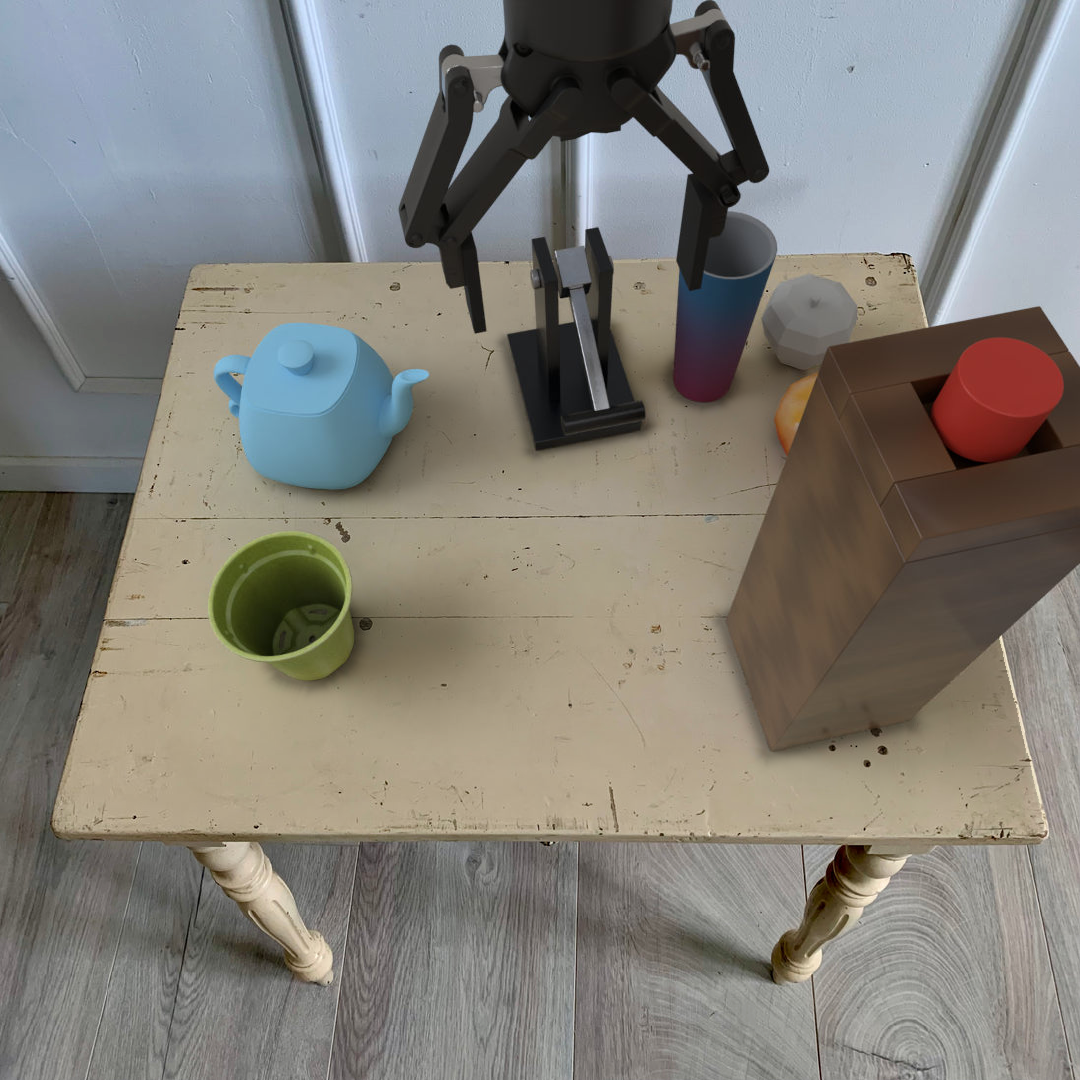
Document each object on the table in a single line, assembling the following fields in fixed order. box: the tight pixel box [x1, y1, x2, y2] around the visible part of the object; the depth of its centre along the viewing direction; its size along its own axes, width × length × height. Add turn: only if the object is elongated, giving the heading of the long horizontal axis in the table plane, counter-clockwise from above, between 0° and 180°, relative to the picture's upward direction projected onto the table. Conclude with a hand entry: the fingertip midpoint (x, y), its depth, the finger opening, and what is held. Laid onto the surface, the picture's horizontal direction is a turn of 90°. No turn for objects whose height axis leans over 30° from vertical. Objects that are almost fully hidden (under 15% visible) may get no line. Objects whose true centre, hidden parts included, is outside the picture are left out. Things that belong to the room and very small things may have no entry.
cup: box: [672, 210, 778, 403], centre depth 70 cm, size 7×7×15 cm
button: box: [931, 338, 1064, 463], centre depth 36 cm, size 4×4×3 cm
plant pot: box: [207, 530, 355, 681], centre depth 62 cm, size 9×9×9 cm
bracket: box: [506, 226, 643, 451], centre depth 70 cm, size 12×9×15 cm
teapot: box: [213, 322, 430, 491], centre depth 70 cm, size 13×11×18 cm
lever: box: [552, 245, 647, 435], centre depth 65 cm, size 13×6×2 cm, turn 12°
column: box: [725, 305, 1080, 752], centre depth 50 cm, size 10×10×30 cm
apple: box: [760, 273, 858, 371], centre depth 74 cm, size 8×8×7 cm
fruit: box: [773, 372, 818, 457], centre depth 70 cm, size 8×8×8 cm
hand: (583, 296), depth 55 cm, fingers open, 13 cm apart
